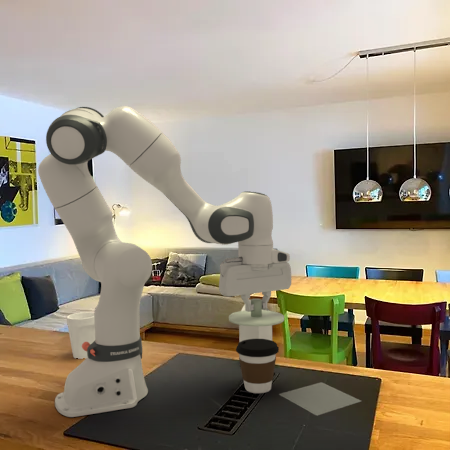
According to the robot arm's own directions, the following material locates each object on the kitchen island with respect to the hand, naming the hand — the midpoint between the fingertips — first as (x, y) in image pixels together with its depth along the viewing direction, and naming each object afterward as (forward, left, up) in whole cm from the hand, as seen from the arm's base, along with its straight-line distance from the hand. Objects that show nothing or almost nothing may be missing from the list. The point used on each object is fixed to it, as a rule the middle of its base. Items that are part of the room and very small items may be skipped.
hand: (256, 310), depth 119 cm
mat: (+9, -13, -21) cm, 26 cm away
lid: (0, 0, -2) cm, 2 cm away
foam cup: (-31, +54, -21) cm, 66 cm away
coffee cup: (0, 0, -21) cm, 21 cm away
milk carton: (+11, +17, -21) cm, 29 cm away
